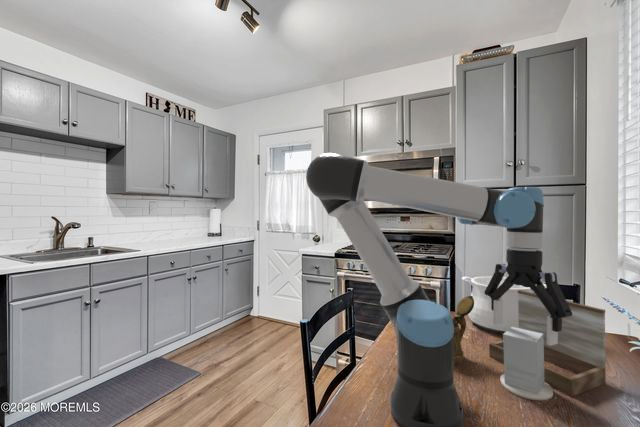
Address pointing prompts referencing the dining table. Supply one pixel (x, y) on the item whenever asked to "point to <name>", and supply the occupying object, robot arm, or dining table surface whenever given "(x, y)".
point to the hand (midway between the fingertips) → (522, 333)
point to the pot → (482, 304)
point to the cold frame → (565, 344)
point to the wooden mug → (461, 326)
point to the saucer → (544, 394)
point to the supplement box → (524, 359)
